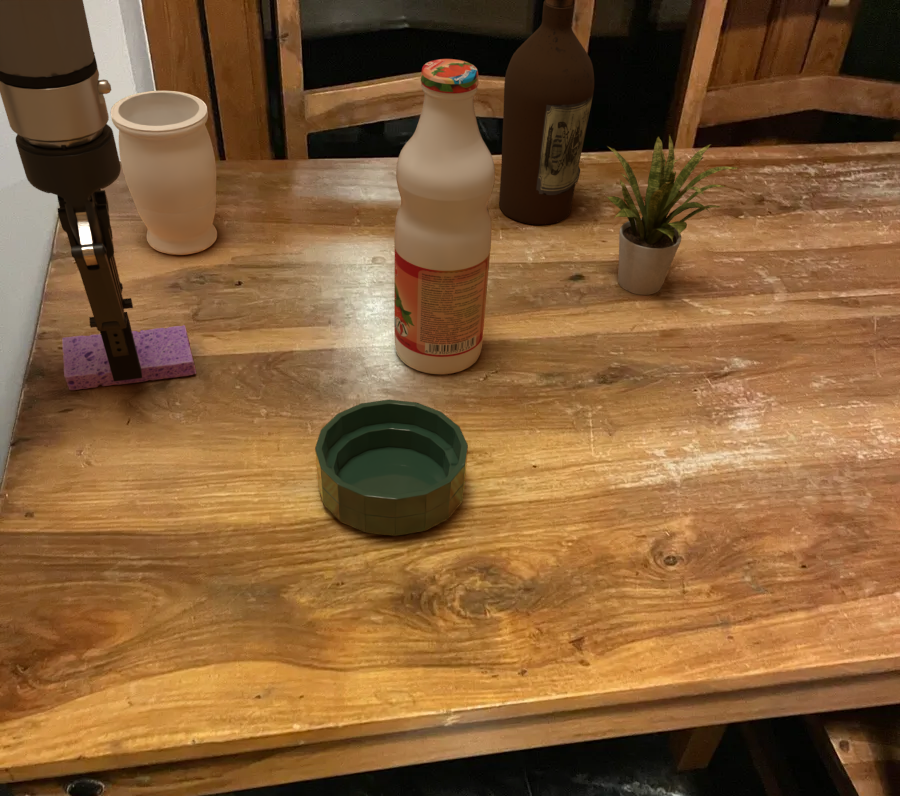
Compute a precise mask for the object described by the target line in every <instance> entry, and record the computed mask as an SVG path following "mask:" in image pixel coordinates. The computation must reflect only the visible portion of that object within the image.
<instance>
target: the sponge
mask: <svg viewBox="0 0 900 796" xmlns="http://www.w3.org/2000/svg"><path fill="white" fill-rule="evenodd" d="M132 334H133V338H134V342H135V346H136V350H137V354H138V358H139V362H140V366H141V371H142V378H138V379H130V380H122V381H114V380H113V376H112V372H111V369H110V365H109V362H108V358H107V354H106V351H105V347H104V344H103V340H102V336H101V333H98V334H90V335H75V336H64V337H61V339H62V341H61V343H62V345H61V346H62V354H63V355H62V359H63V361H62V362H63V374H64V375H63V377H64V379H65V382H66V385H67V387H68V390H69V391H76V390H77V391H79V390H82V389H83V390H86V389H88V390H89V389H94V388H98V387H100V386H101V387H108V386H113V385H126V384H135V383H142V382H148V381H156V380H163V379H166V380H167V379H172V378H173V379H174V378H179V377H180V378H181V377H189V376H193V375H197V370H196V365H195V360H194V358H193V354H192V349H191V345H190V340H189V336H188V335H189V334H188V332H187V328H186V325H185V324H183V325H173V326H168V327H155V328H152V329H151V328H149V329H145V330H143V329H141V330H140V331H137V330H132Z"/></svg>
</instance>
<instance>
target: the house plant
mask: <svg viewBox="0 0 900 796" xmlns="http://www.w3.org/2000/svg"><path fill="white" fill-rule="evenodd" d="M671 137H672V136H671V134H669V135H668V154H667V159H666V157H665V153H664V150H663V141H662V140H661V139H660V135H658V136H657V138H656V141H655V143H654V147H653V152H652V158H651V164H650V169H649V173H648V178H647V187H646V191H645V197H644V199H643V197H642V194H641V191H640V187H639V184H638V181H637V177H636V176H635V173H634V171H633V168H632V167H631V166H630V164H629V162H628V161H627V160H626V159H625V158H624V157H623V155H621V154H620V153H619V152H618V150H616V149H615V148H613V147H610V146H608V145H606V147H607V148H608V149H609V150H610V151H611V152H612V153H613V155H614V156H615V157H616V158H617V160H618V161H619V163H620V164H621V166H622V168H623V170H624V172H625V174H626V175H625V174H623V173H622V172H620V174H621V175H622V176H623V178H624V179H625V180H626V181H627V182H628V184H629V186H630V187H631V190H632V192H633V195H634V197H635V200H636V203H637V206H638V209H639V210H638V209H637V207H636V204H635V202H634V200H633V198H632V196H631V194H630V192H629V190H628V188H627V186H626V184H625V183H624V182H623V181H622V180H621V179H619V184H620V186H621V193H622V197H623V199H622V198H621V197H618V196H614V195H611V196H606V197H605V199H606V198H607V199H608V201H609V202H611V203H612V204H613V205H615V206H616V207H617V208H618V209H619V210H618V212H617V213H616V215H615V216H614V217H613V219H615V218H617V217H618V218H627V220H628V221H625V222H623V223H622V225H621V226H620V228H619V234H618V235H619V236H618V237H619V238H618V267H617V269H618V270H617V271H618V274H617V282H618V285H619V286H620V287H621V288H622V289H624V290H625V291H627V292H630V293H632V294H634V295H641V296H643V295H644V296H646V295H653V294H656V293H658V292H659V291H660V290H661V289H662V287H663V285H664V282H665V279H666V277H667V275H668V272H669V270H670V267H671V265H672V263H673V262H674V259H675V256H676V254H677V252H678V249H679V247H680V244H681V242H682V235H681V233H682V232H683V231H685V230H686V229H687V227H688V224H687V220H689V219H690V218H692V217H694V216H695V215H697V214H698V213H701V212H703V211H705V210H707V212H710V210H709V209H712V208H716V209H717V208H722V206H721V205H715V204H708V205H703V204H702V203H700V202H697V201H691V200H693V199H694V198H695V197H696V196H698V195H699V194H701V195H705V193H704V192H705V191H707V190H709V189H713V188H726V186H725V185H720V184H708V185H704V186H703V187H701V188H699V187H697V186H695V185H696V184H697V183H699V182H700V181H702V180H703V179H705V178H707V177H709V176H711V175H713V174H715V173H717V172H720V171H723V170H724V171H725V170H726V171H727V170H737V169H741V168H740V167H736V166H726V165H725V166H724V165H723V166H715V167H711V168H709V169H707V170H705V171H703V172H701V173H699V174H698V175H696V176H695V177H694V178H693V179H692V180H690V181H689V183H688V184H687V185H686V186H685V187H684V188H683V189H682V190H681V188H682V187H683V186H684V184H685V183H686V181H687V180H688V178H689V177H690V175H691V174H692V173H693V172H694V170H695V169H696V168H697V166H698V165H699V163H700V162H701V161H702V160H703V159H704V157H703V155H704V154H705V153H706V152H707V151H708V150H709V148H710V147H711V145H712V144H707V145H706V146H704V147H701V148H700V149H699V150H697V152H695V154H694V155H692V157H691V158H690V159H689V161H688V162H687V163H686V164H685V166H684V167H683V168H682V169H681V171H680V172H679V173H678V175H676V174H677V171H674V168H675V163H676V162H677V161H679V160H680V158H677V159H676V158H675V149H674V143H673V142H674V141H673V140H672V138H671ZM675 159H676V160H675ZM680 190H681V191H680ZM690 190H693V191H695V192H693V193H692V194H691V195H690V196H689V197H688V198H687V199H686V200H685V201H684V202H683V203H682V204H681V205H679V206H678V207H676V208H675V209H673V210H672V208H673V207H674V206H675V205H676V204H677V203H678V201H679V200H680V199H681V198H682V197H684V195H685V194H687V192H688V191H690ZM689 209H695V210H693V211H691V212H689V213H688V214H687V215H685V216H684V217H683V218H681V219H680V220H676V221H673V222H671V221H672V220H673V219H674V218H675V217H676V216H677V215H680V214H681V213H683V212H684V211H687V210H689ZM671 210H672V211H671ZM639 211H640V213H639ZM670 211H671V212H670ZM640 214H641V215H640Z"/></svg>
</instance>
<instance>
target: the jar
mask: <svg viewBox="0 0 900 796" xmlns="http://www.w3.org/2000/svg"><path fill="white" fill-rule="evenodd" d="M110 117H111V121H112V124H113V126H114V127H115V128H116V129H117V130H118V148H119V149H118V151H119V161H120V166H121V170H122V173H123V177H124V180H125V183H126V186H127V188H128V191H129V194H130V197H131V198H132V201H133V204H134V207H135V209H136V212H137V214H138V216H139V218H140V219H141V221H142V222H143V224H144V225H145V227H146V228H147V231H146V241H147V243H148V245H149V246H150V247H151V248H152V249H153V250H155V251H157V252H160V253H163V254H166V255H174V256H184V255H185V256H186V255H192V254H196V253H200V252H203V251H204V250H207V249H208V248H210V247H211V246H213V244H214V243H215V242H216V240H217V238H218V231H217V228H216V227H215V225H214V224H213V223H214V219H215V216H216V210H217V179H218V178H217V177H218V176H217V164H216V156H215V152H214V147H213V143H212V140H211V137H210V133H209V131H208V128H207V126H206V124H207V121H208V120H209V119H208V118H209V111H208V106H207V104H206V103H205V102H204V101H203V99H201V98H199V97H198V96H195V95H193V94H190V93H187V92H183V91H174V90H150V91H143V92H142V91H141V92H138V93H133V94H131V95H127V96H125V97H124V98H121V99H120V100H118V101H116V102H115V103H114V104H113V105H112V107H111V108H110Z"/></svg>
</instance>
